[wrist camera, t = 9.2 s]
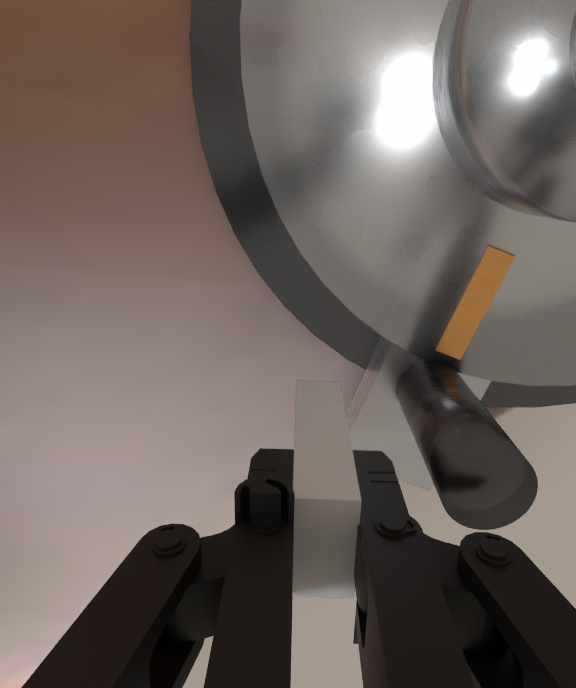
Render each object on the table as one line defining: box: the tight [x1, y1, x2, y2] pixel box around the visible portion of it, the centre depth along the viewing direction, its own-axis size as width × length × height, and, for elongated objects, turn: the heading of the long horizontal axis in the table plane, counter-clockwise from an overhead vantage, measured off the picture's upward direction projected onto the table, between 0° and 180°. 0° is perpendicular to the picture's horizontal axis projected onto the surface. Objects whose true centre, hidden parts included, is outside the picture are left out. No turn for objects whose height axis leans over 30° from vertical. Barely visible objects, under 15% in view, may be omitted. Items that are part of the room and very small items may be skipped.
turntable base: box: [190, 0, 576, 407], centre depth 17 cm, size 26×26×1 cm
